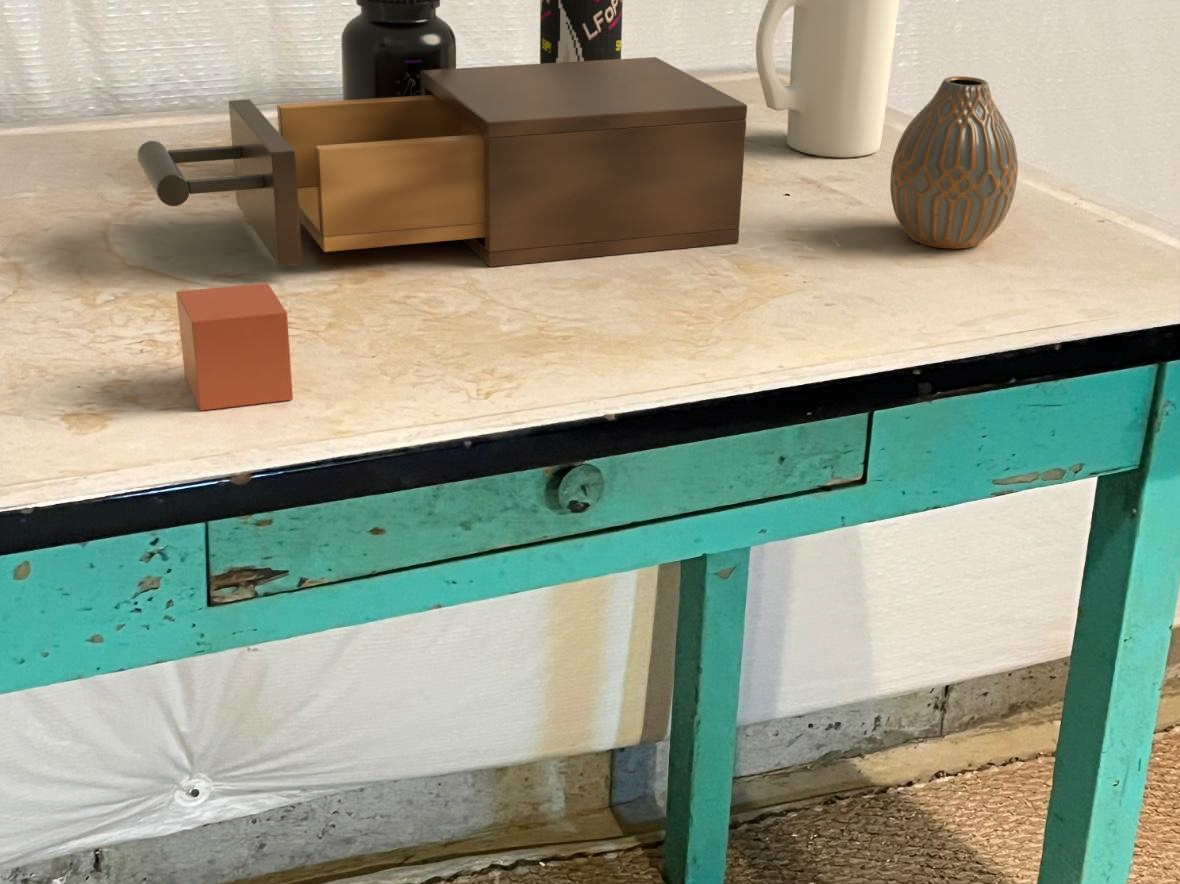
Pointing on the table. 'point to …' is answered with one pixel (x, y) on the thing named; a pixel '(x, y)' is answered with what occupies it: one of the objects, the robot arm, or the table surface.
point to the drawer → (342, 173)
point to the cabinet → (599, 157)
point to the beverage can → (580, 30)
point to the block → (235, 346)
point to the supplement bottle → (394, 48)
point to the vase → (954, 168)
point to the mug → (831, 73)
